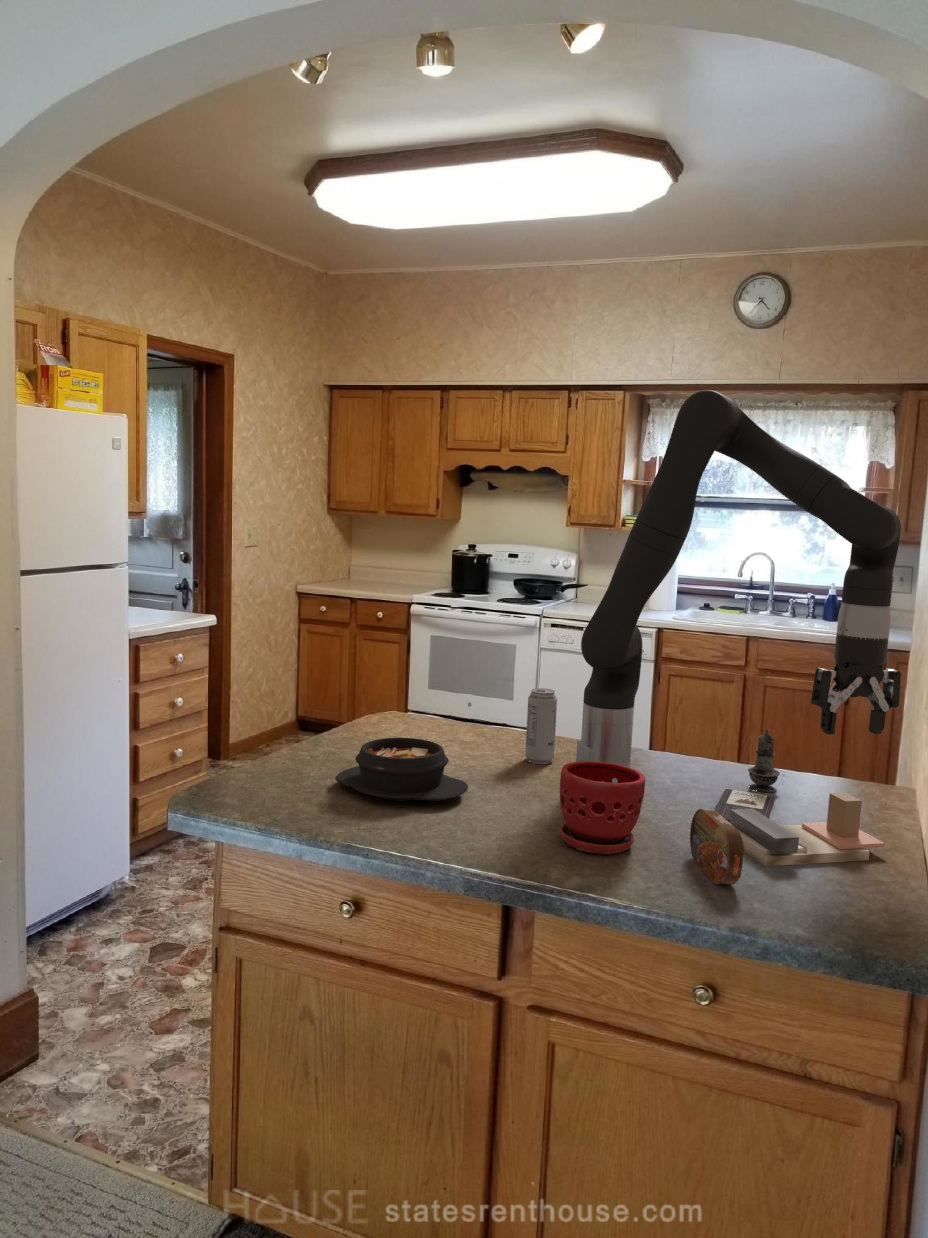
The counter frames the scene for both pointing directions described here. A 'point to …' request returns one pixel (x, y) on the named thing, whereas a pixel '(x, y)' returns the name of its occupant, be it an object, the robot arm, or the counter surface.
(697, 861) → the tin
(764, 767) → the stone finial
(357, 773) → the casserole
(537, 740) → the energy drink can
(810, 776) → the counter surface
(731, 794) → the chocolate bar
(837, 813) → the tan block on plate
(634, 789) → the plant pot
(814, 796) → the counter surface
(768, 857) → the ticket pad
